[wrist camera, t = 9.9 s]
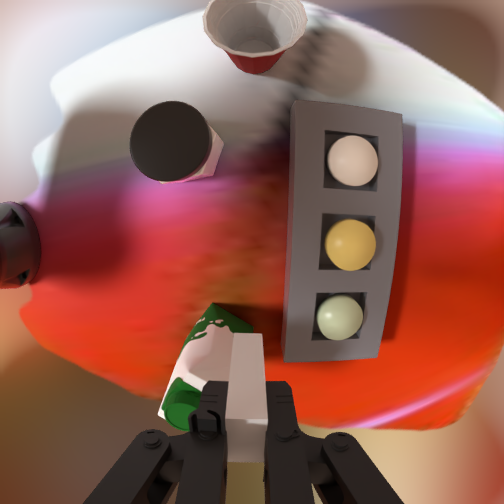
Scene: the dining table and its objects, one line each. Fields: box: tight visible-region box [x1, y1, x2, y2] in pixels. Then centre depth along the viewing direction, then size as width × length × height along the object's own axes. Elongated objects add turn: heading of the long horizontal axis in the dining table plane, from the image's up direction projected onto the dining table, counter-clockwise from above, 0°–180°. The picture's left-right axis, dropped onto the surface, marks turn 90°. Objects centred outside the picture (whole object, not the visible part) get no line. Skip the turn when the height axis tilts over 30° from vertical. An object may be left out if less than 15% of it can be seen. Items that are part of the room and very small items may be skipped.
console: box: [281, 100, 403, 362], centre depth 39 cm, size 14×34×5 cm, turn 179°
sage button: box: [316, 293, 363, 340], centre depth 39 cm, size 6×6×2 cm
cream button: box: [326, 136, 378, 186], centre depth 34 cm, size 6×6×2 cm
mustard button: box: [324, 218, 376, 271], centre depth 36 cm, size 6×6×2 cm
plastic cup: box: [203, 0, 307, 74], centre depth 30 cm, size 11×11×12 cm
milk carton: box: [158, 303, 253, 431], centre depth 35 cm, size 9×9×20 cm
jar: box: [130, 101, 224, 184], centre depth 33 cm, size 9×8×12 cm
